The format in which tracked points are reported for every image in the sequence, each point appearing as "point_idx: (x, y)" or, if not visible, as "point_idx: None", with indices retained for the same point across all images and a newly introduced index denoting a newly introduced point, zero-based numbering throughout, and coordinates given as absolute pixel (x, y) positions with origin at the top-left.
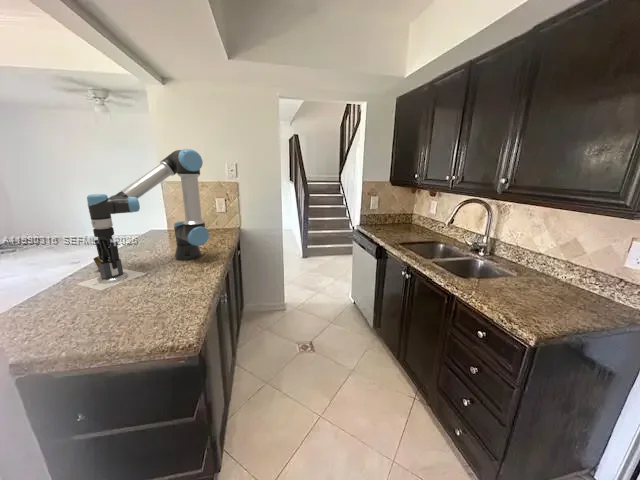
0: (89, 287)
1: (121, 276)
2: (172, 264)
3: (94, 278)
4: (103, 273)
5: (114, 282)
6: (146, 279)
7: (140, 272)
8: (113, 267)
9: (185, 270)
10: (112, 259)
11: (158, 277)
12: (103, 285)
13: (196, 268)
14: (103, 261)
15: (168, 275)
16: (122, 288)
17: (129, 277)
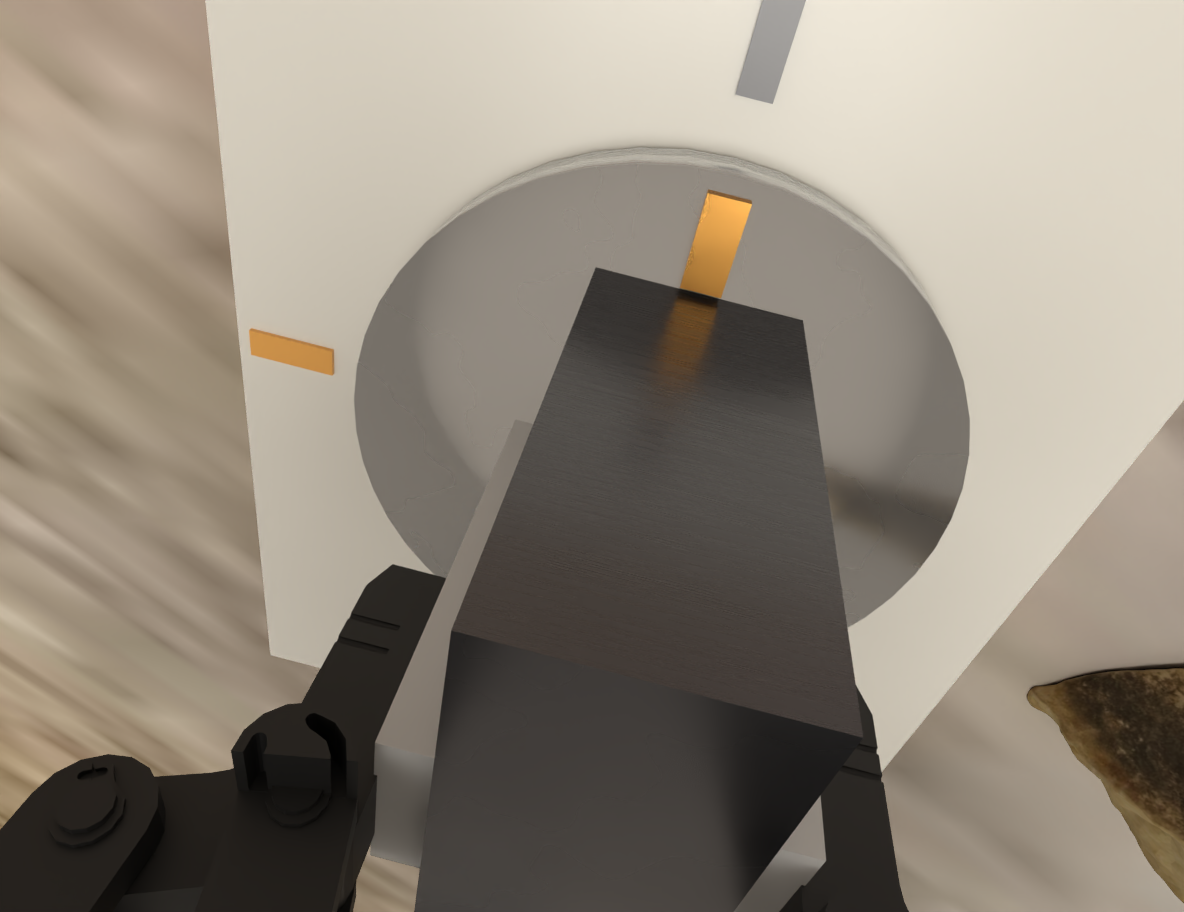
0: None
1: (446, 484)
2: (391, 894)
3: (1144, 413)
4: (647, 377)
5: (391, 243)
6: (171, 515)
7: None
8: (395, 611)
9: (53, 758)
10: (76, 901)
11: (95, 583)
12: (466, 7)
13: (11, 795)
14: (891, 898)
15: (54, 641)
16: (92, 86)
17: (368, 507)
